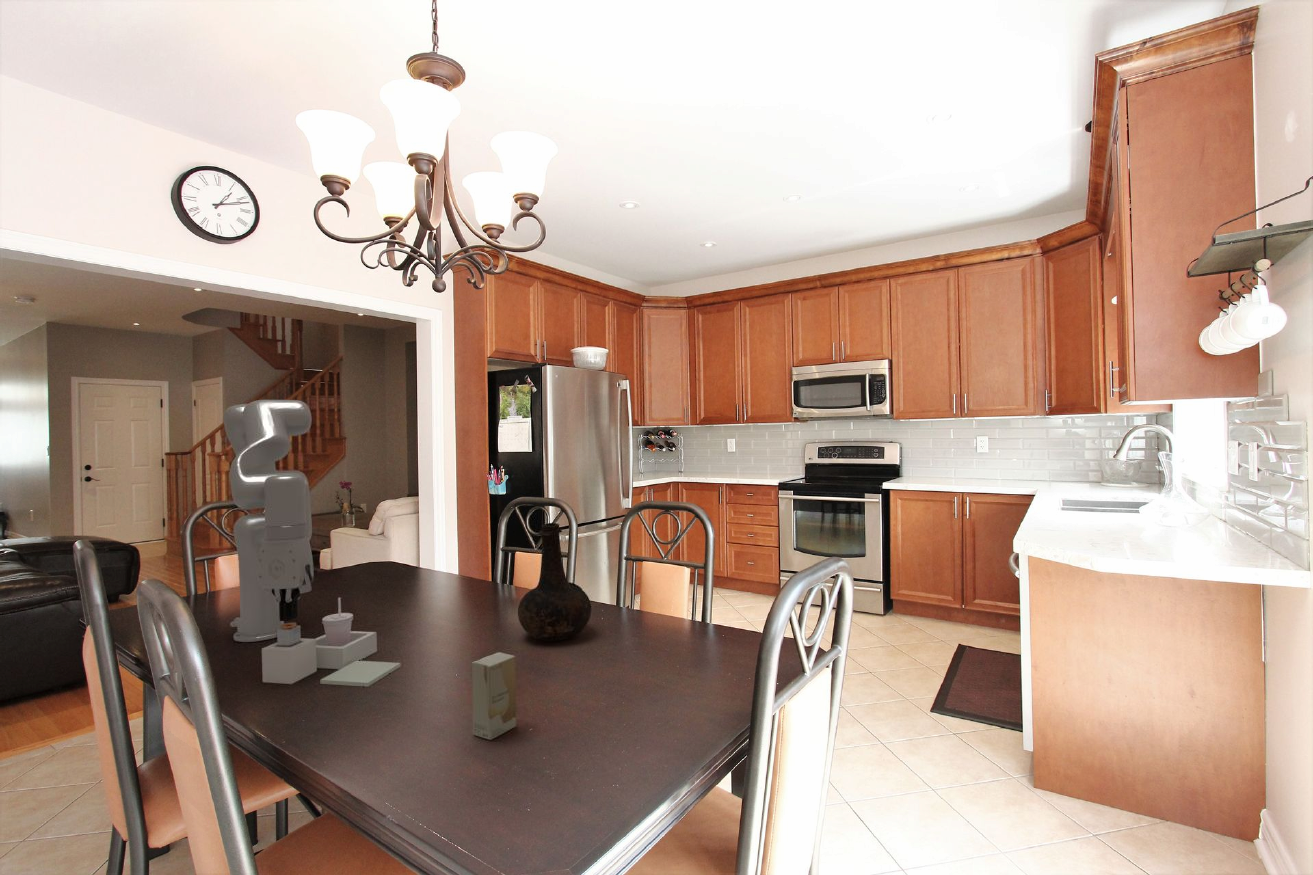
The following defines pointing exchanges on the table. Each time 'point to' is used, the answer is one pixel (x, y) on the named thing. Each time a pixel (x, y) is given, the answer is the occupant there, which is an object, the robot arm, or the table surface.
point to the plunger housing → (289, 662)
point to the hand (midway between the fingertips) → (288, 619)
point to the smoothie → (338, 627)
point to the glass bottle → (553, 596)
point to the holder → (345, 650)
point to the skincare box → (494, 695)
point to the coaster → (360, 673)
